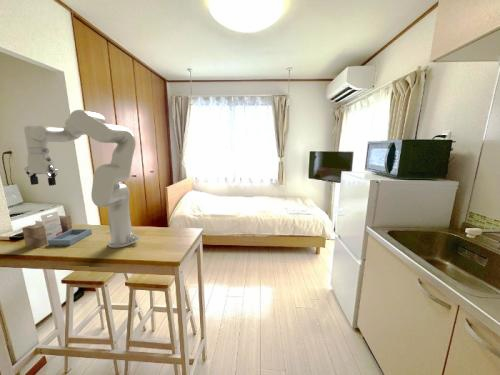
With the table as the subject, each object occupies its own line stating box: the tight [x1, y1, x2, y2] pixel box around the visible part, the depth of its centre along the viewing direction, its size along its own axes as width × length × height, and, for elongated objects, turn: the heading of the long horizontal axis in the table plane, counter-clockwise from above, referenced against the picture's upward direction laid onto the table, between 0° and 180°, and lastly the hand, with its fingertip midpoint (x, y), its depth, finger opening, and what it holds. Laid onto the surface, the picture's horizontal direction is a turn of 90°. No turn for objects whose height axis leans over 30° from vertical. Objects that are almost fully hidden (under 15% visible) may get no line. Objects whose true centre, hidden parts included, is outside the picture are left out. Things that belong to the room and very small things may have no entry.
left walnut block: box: [22, 225, 48, 248], centre depth 107 cm, size 8×3×10 cm, turn 90°
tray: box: [47, 228, 93, 247], centre depth 114 cm, size 11×15×3 cm
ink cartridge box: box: [35, 210, 62, 243], centre depth 114 cm, size 9×5×15 cm, turn 168°
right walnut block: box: [59, 215, 73, 233], centre depth 122 cm, size 8×3×10 cm, turn 90°
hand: (43, 184), depth 109 cm, fingers open, 9 cm apart
